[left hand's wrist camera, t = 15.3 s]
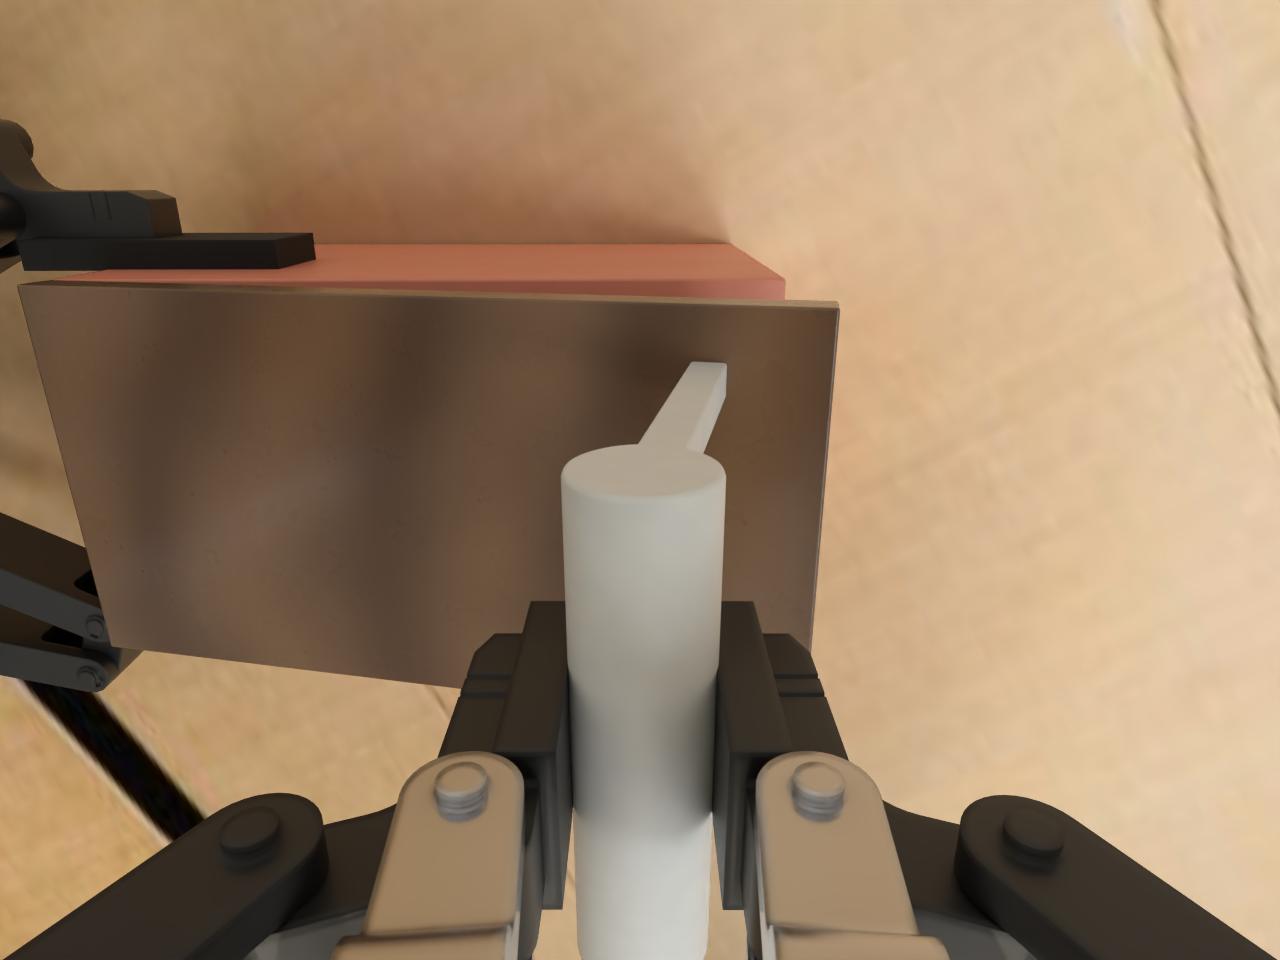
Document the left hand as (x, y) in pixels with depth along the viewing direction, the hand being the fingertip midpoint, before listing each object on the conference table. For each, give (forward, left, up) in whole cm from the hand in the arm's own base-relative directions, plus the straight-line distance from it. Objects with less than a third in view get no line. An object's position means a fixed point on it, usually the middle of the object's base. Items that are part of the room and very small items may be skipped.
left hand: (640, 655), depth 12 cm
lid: (-3, +4, -7) cm, 8 cm away
